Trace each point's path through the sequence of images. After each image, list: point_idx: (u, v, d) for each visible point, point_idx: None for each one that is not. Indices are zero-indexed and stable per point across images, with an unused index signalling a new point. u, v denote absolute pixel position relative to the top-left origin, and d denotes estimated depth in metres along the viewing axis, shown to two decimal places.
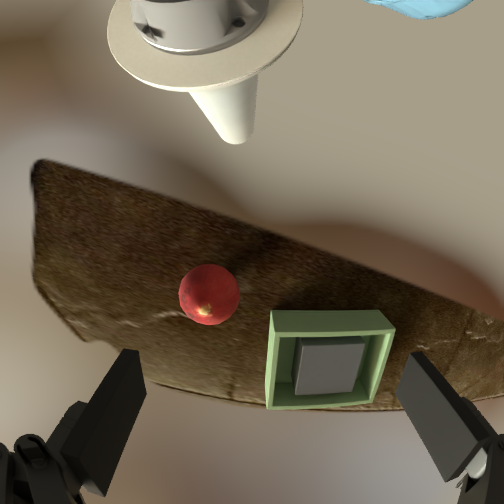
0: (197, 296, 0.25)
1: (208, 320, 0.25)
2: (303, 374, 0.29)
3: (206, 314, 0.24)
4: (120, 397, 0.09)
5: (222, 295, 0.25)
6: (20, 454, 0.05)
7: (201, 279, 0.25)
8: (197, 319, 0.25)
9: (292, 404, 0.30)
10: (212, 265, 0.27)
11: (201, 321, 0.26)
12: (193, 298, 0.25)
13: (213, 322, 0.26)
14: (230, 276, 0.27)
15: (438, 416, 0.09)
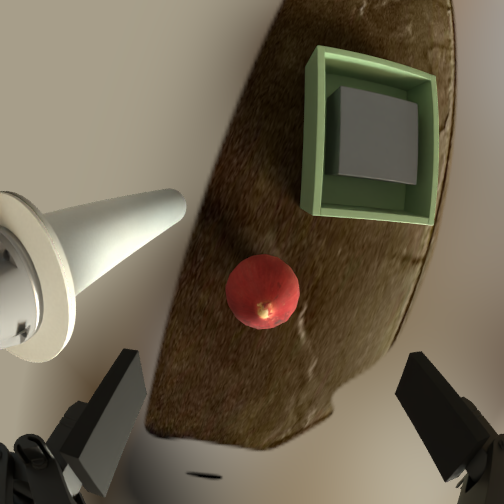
0: (249, 315, 0.20)
1: (283, 304, 0.20)
2: (384, 172, 0.20)
3: (266, 311, 0.19)
4: (120, 397, 0.09)
5: (251, 284, 0.20)
6: (20, 454, 0.05)
7: (233, 305, 0.21)
8: (282, 315, 0.21)
9: (430, 189, 0.20)
10: (226, 286, 0.23)
11: (286, 311, 0.21)
12: (252, 319, 0.20)
13: (288, 296, 0.21)
14: (237, 267, 0.22)
15: (438, 416, 0.09)
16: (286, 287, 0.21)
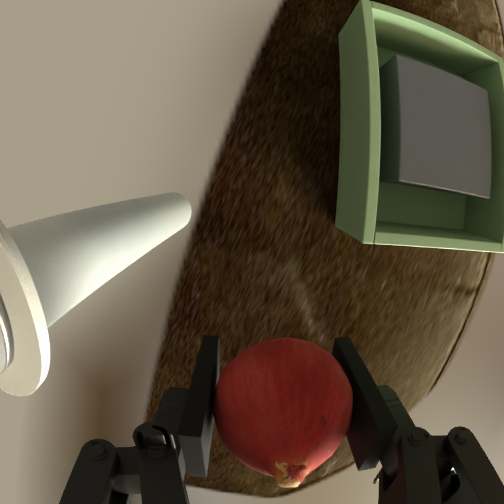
0: (259, 469, 0.08)
1: (328, 451, 0.08)
2: (456, 181, 0.12)
3: (296, 483, 0.07)
4: (213, 379, 0.11)
5: (264, 424, 0.08)
6: (138, 440, 0.07)
7: (227, 444, 0.09)
8: (323, 461, 0.08)
9: None
10: (213, 396, 0.11)
11: (330, 455, 0.08)
12: (265, 473, 0.08)
13: (339, 434, 0.08)
14: (234, 371, 0.10)
15: None
16: (336, 420, 0.08)
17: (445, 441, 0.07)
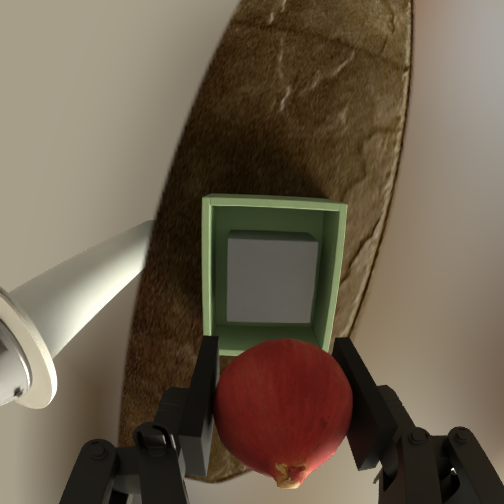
0: (259, 470, 0.08)
1: (328, 452, 0.08)
2: (273, 317, 0.24)
3: (296, 484, 0.07)
4: (213, 379, 0.11)
5: (264, 425, 0.08)
6: (138, 441, 0.07)
7: (227, 445, 0.09)
8: None
9: (325, 325, 0.24)
10: (213, 397, 0.11)
11: (330, 456, 0.08)
12: (265, 474, 0.08)
13: (339, 435, 0.08)
14: (234, 373, 0.10)
15: None
16: (336, 422, 0.08)
17: (445, 441, 0.07)
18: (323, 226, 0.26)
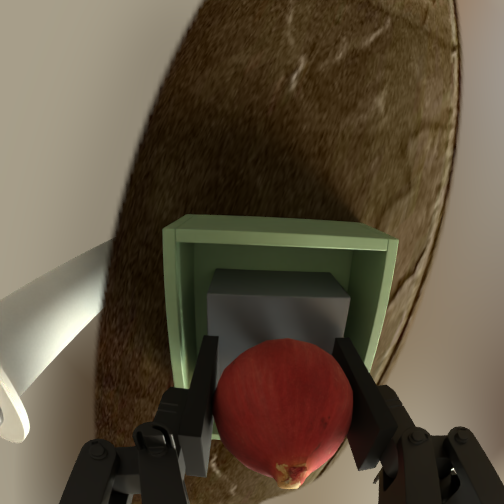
0: (260, 470, 0.08)
1: (328, 452, 0.08)
2: None
3: (297, 484, 0.07)
4: (213, 379, 0.11)
5: (265, 425, 0.08)
6: (138, 440, 0.07)
7: (227, 446, 0.09)
8: None
9: None
10: (213, 397, 0.11)
11: (330, 456, 0.08)
12: (265, 474, 0.08)
13: (339, 435, 0.08)
14: (234, 373, 0.10)
15: None
16: (336, 422, 0.08)
17: (445, 441, 0.07)
18: (352, 263, 0.17)
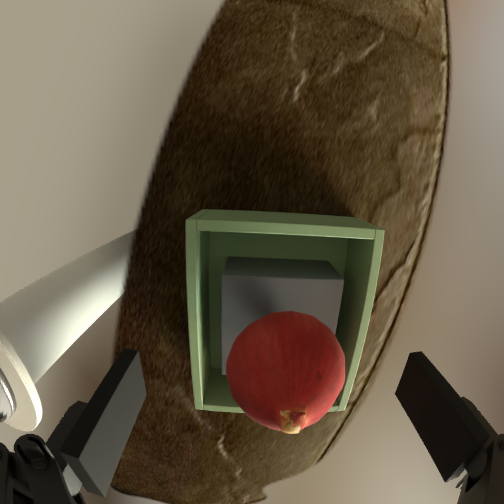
0: (266, 421, 0.11)
1: (324, 404, 0.11)
2: None
3: (297, 428, 0.09)
4: (120, 397, 0.09)
5: (271, 376, 0.11)
6: (20, 454, 0.05)
7: (239, 401, 0.12)
8: (320, 417, 0.11)
9: (345, 378, 0.18)
10: (227, 361, 0.13)
11: (326, 411, 0.11)
12: (271, 426, 0.11)
13: (333, 390, 0.11)
14: (246, 336, 0.13)
15: (438, 416, 0.09)
16: (330, 377, 0.11)
17: None
18: (347, 253, 0.20)
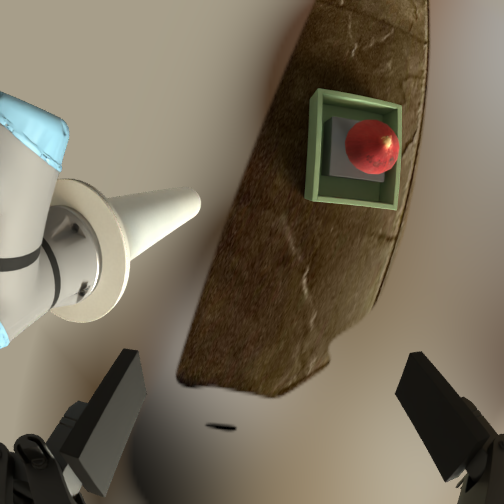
0: (374, 148, 0.24)
1: (395, 143, 0.24)
2: (360, 174, 0.31)
3: (390, 139, 0.23)
4: (120, 397, 0.09)
5: (373, 127, 0.24)
6: (20, 454, 0.05)
7: (359, 145, 0.25)
8: (394, 153, 0.25)
9: (394, 185, 0.31)
10: (346, 139, 0.27)
11: (396, 150, 0.25)
12: (376, 152, 0.24)
13: (397, 140, 0.24)
14: (356, 124, 0.26)
15: (438, 416, 0.09)
16: (394, 134, 0.24)
17: None
18: None
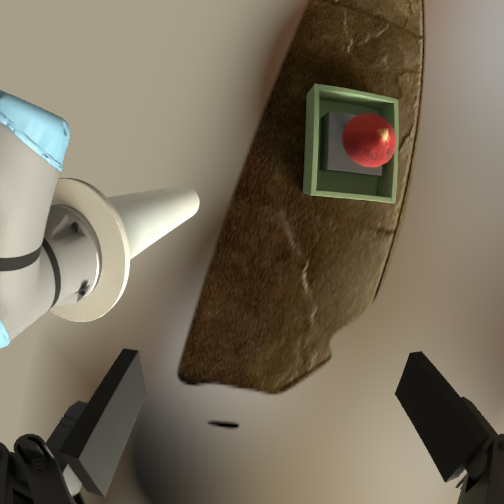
0: (371, 141, 0.24)
1: (392, 136, 0.24)
2: (358, 168, 0.31)
3: (387, 132, 0.23)
4: (120, 397, 0.09)
5: (370, 121, 0.24)
6: (20, 454, 0.05)
7: (356, 138, 0.25)
8: (392, 146, 0.25)
9: (392, 178, 0.31)
10: (343, 133, 0.27)
11: (393, 143, 0.25)
12: (373, 145, 0.24)
13: (394, 133, 0.25)
14: (353, 118, 0.26)
15: (438, 416, 0.09)
16: (391, 127, 0.25)
17: None
18: None
